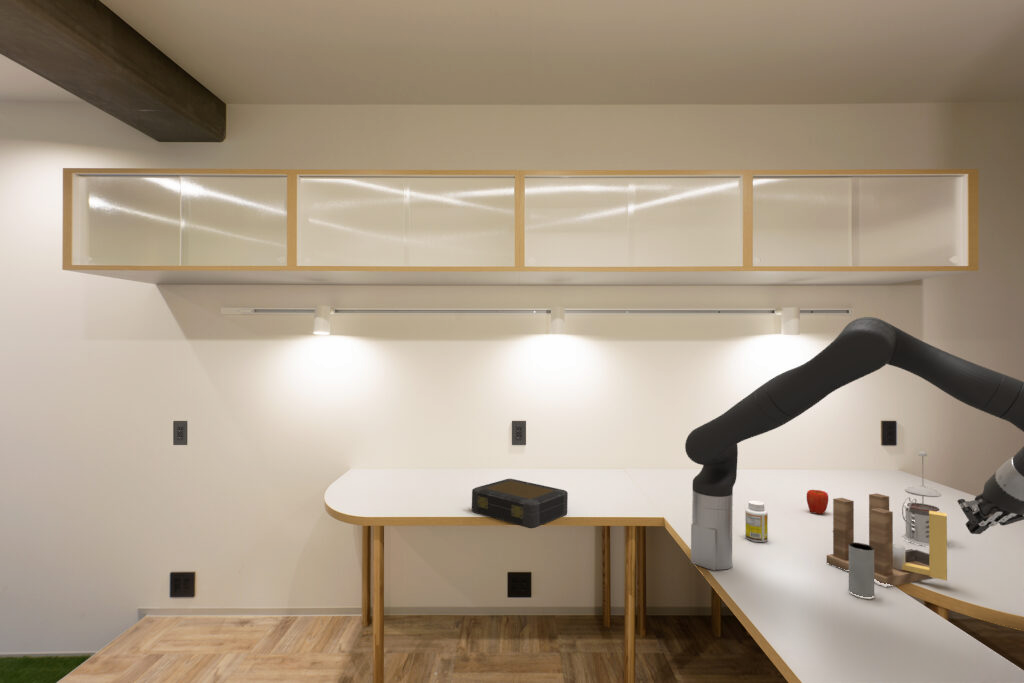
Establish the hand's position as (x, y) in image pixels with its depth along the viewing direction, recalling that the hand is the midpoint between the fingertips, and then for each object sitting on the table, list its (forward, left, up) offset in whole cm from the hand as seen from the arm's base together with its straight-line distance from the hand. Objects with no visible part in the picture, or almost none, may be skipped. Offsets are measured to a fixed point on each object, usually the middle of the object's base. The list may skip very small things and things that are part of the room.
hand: (972, 529), depth 105 cm
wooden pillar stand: (+9, +18, -16) cm, 25 cm away
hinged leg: (+7, +10, -14) cm, 19 cm away
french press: (+41, +16, -16) cm, 46 cm away
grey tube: (-10, +17, -16) cm, 26 cm away
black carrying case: (-30, +105, -17) cm, 110 cm away
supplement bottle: (+6, +46, -16) cm, 49 cm away
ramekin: (+65, +20, -16) cm, 69 cm away
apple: (+47, +44, -16) cm, 66 cm away
